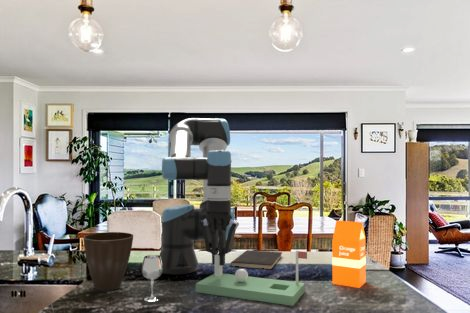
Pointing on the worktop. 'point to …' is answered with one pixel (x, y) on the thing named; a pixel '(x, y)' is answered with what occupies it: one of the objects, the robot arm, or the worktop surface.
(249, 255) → the hardcover book
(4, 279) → the worktop surface
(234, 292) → the putting deck
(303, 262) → the worktop surface
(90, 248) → the plant pot
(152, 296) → the wineglass
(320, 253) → the worktop surface
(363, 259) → the orange juice
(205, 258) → the worktop surface
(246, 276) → the ball
